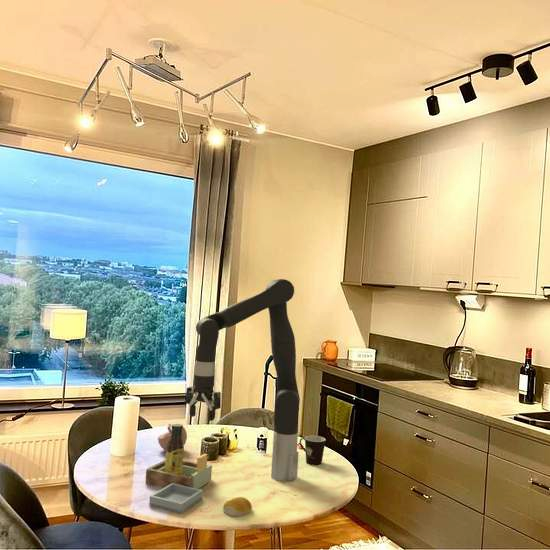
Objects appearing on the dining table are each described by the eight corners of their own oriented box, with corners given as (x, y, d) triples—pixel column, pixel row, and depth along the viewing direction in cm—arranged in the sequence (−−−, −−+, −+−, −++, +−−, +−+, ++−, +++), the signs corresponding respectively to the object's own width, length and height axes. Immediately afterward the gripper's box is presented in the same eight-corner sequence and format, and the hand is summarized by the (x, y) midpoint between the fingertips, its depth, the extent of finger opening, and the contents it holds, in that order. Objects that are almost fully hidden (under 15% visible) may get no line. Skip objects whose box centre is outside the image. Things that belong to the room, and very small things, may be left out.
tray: (202, 499, 174) (202, 490, 174) (181, 513, 162) (181, 504, 162) (171, 491, 178) (172, 483, 178) (149, 505, 167) (149, 496, 167)
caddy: (210, 480, 190) (212, 451, 190) (193, 491, 179) (195, 461, 179) (170, 471, 196) (172, 443, 197) (151, 482, 185) (153, 452, 186)
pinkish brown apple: (161, 445, 227) (163, 419, 227) (188, 447, 227) (190, 421, 227) (153, 454, 215) (155, 426, 215) (182, 456, 215) (184, 428, 215)
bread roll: (256, 510, 168) (256, 498, 168) (238, 519, 161) (238, 506, 161) (236, 502, 173) (237, 490, 173) (218, 511, 166) (218, 498, 166)
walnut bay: (211, 479, 191) (211, 466, 192) (189, 493, 178) (190, 479, 178) (169, 470, 198) (170, 457, 198) (145, 483, 184) (146, 469, 185)
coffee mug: (327, 465, 214) (329, 441, 214) (308, 467, 211) (310, 442, 211) (315, 456, 225) (316, 433, 225) (297, 457, 222) (298, 434, 222)
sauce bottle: (171, 485, 184) (175, 428, 185) (160, 480, 188) (163, 424, 189) (185, 480, 190) (189, 425, 190) (174, 475, 193) (177, 421, 194)
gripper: (226, 375, 189) (223, 419, 189) (195, 369, 196) (193, 413, 196) (213, 377, 183) (211, 424, 182) (182, 372, 190) (179, 416, 189)
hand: (201, 418), depth 189 cm, fingers open, 8 cm apart
